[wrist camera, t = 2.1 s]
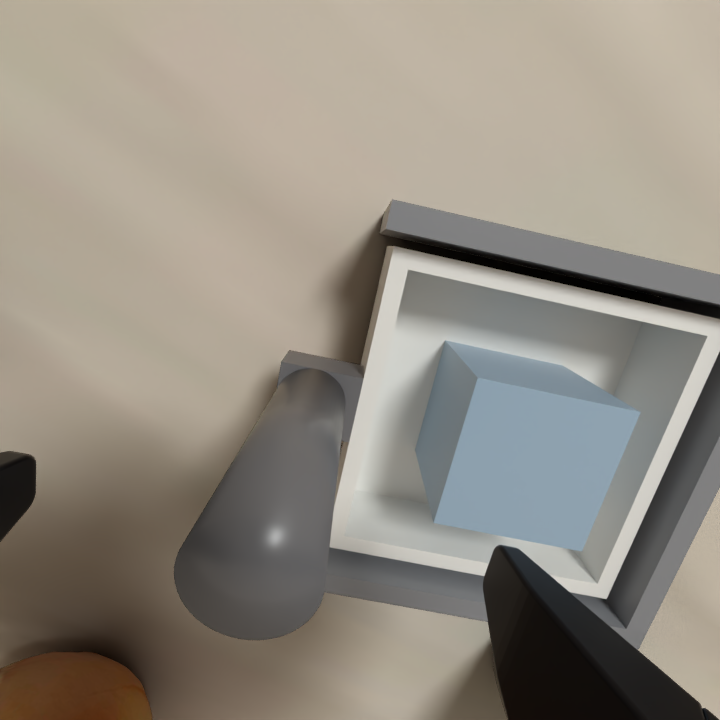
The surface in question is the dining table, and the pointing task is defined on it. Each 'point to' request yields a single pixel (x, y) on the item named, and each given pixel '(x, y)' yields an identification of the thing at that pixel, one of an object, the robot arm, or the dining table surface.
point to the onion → (71, 689)
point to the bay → (679, 482)
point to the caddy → (401, 431)
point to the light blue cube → (519, 446)
